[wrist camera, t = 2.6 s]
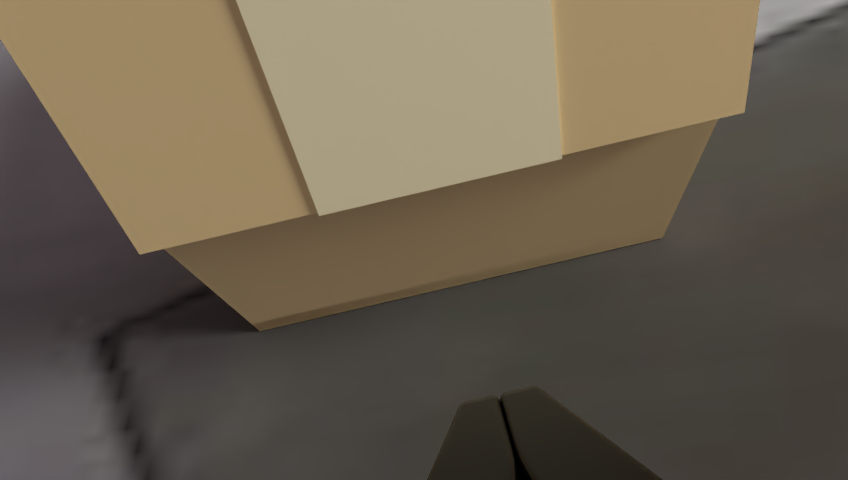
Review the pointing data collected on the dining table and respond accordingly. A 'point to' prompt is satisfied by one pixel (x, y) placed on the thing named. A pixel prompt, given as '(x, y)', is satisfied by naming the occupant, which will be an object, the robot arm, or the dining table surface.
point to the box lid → (356, 95)
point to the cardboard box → (451, 232)
